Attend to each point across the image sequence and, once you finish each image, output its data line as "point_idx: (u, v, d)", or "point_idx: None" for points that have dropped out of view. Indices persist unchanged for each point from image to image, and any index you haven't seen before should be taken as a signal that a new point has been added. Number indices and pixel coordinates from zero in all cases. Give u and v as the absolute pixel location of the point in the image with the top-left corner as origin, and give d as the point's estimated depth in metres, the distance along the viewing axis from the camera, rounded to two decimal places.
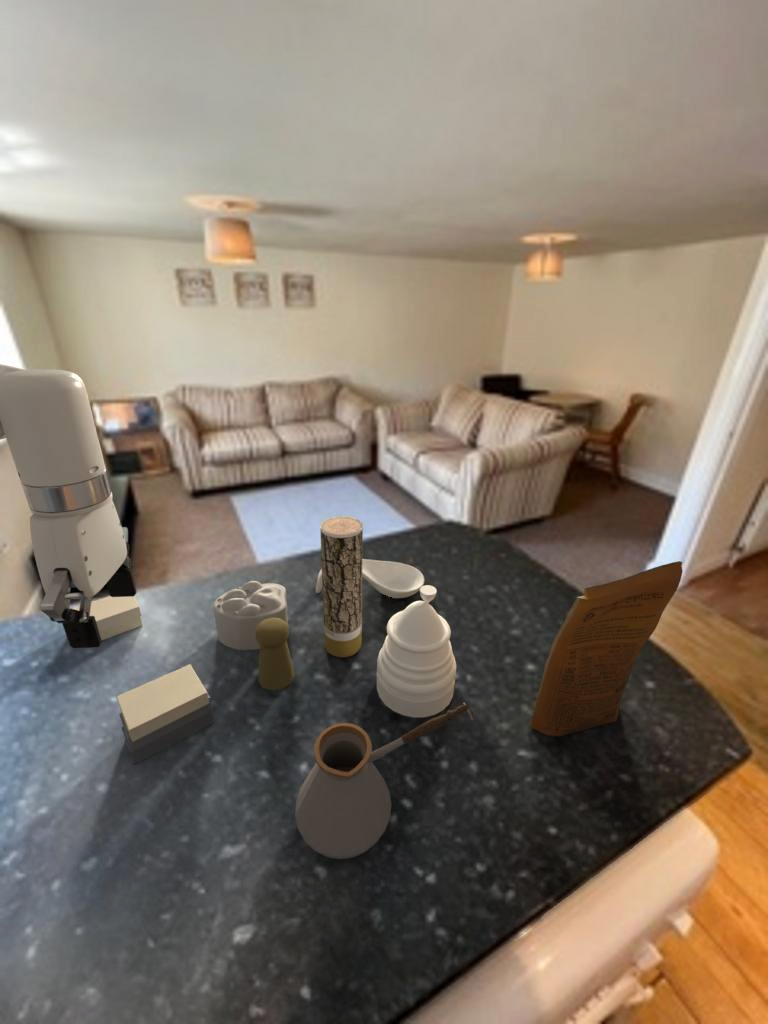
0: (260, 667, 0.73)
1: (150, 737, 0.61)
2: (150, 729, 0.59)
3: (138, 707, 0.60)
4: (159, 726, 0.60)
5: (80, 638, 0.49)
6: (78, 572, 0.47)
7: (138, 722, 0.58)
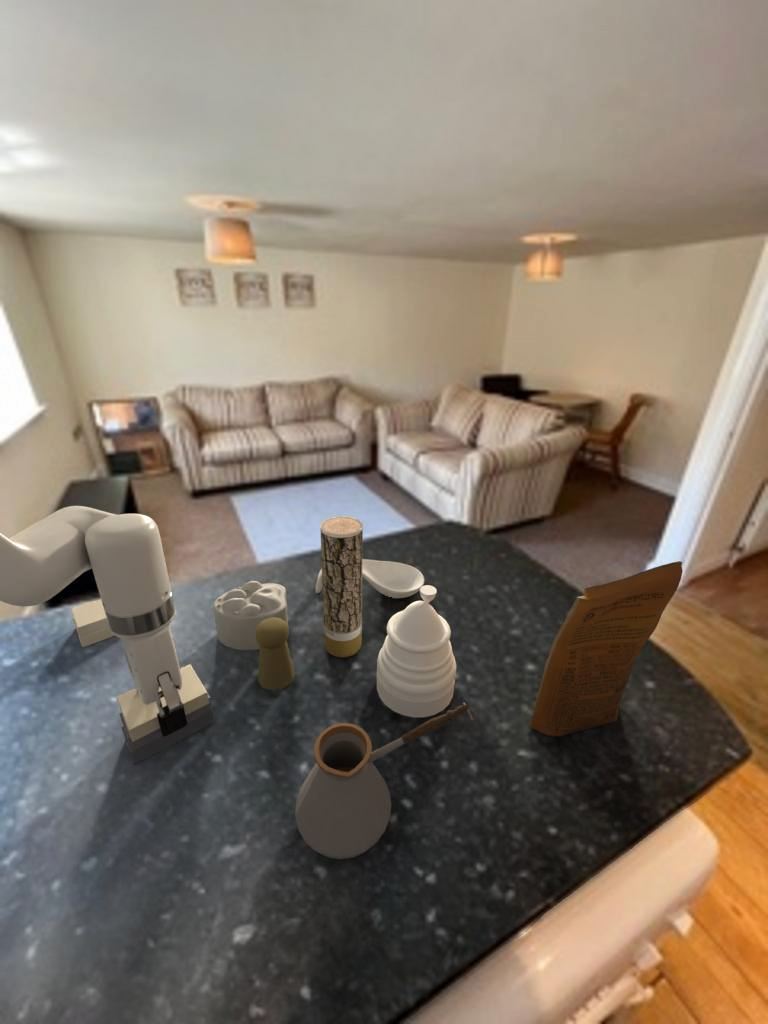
0: (260, 667, 0.73)
1: (150, 737, 0.61)
2: (150, 729, 0.59)
3: (138, 707, 0.60)
4: (159, 726, 0.60)
5: (176, 723, 0.60)
6: (176, 670, 0.57)
7: (138, 722, 0.58)
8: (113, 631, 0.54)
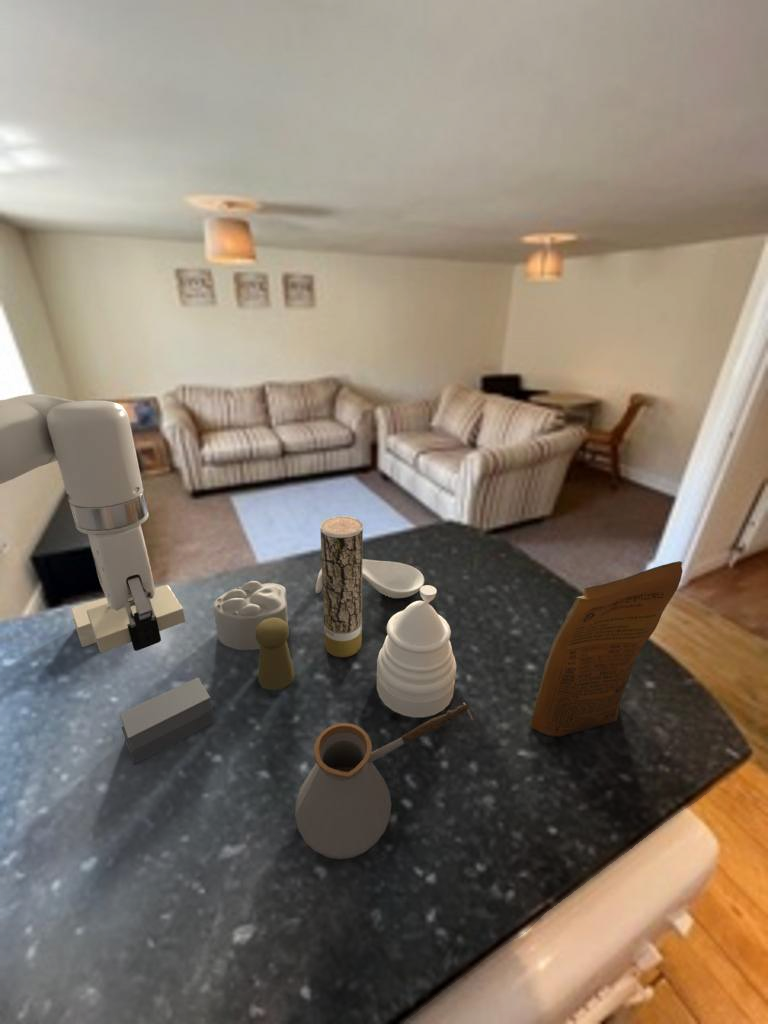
0: (260, 667, 0.73)
1: (150, 737, 0.61)
2: (120, 642, 0.55)
3: (109, 619, 0.57)
4: (130, 639, 0.56)
5: (148, 637, 0.56)
6: (147, 575, 0.53)
7: (107, 632, 0.54)
8: (79, 526, 0.50)
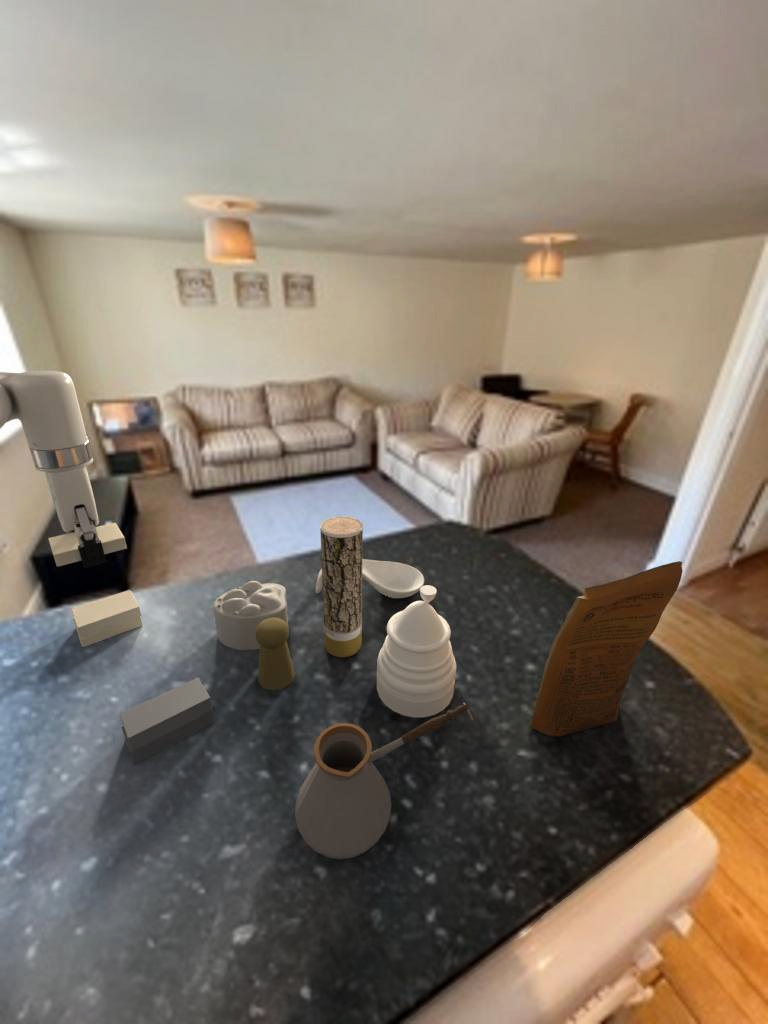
0: (260, 667, 0.73)
1: (150, 737, 0.61)
2: (73, 559, 0.72)
3: (65, 543, 0.73)
4: None
5: (95, 556, 0.72)
6: (91, 506, 0.70)
7: (62, 551, 0.71)
8: (37, 466, 0.66)
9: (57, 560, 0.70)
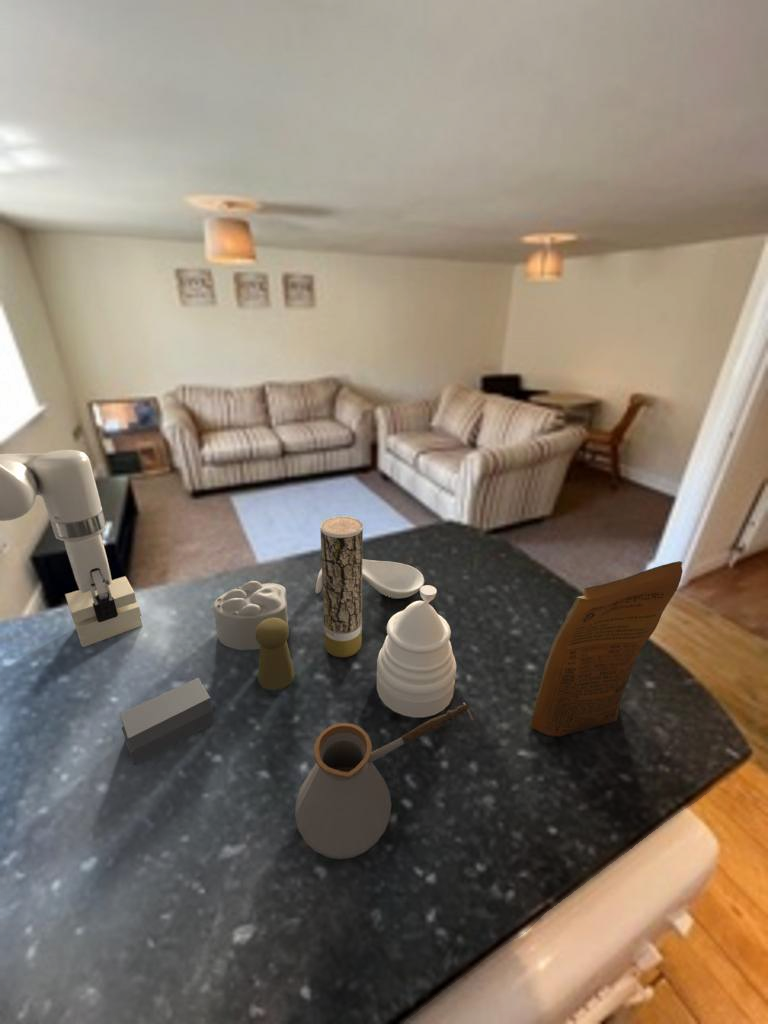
0: (260, 667, 0.73)
1: (150, 737, 0.61)
2: (88, 615, 0.79)
3: (80, 600, 0.80)
4: (95, 614, 0.80)
5: (108, 612, 0.80)
6: (105, 569, 0.77)
7: (78, 608, 0.78)
8: (56, 535, 0.74)
9: (74, 617, 0.78)
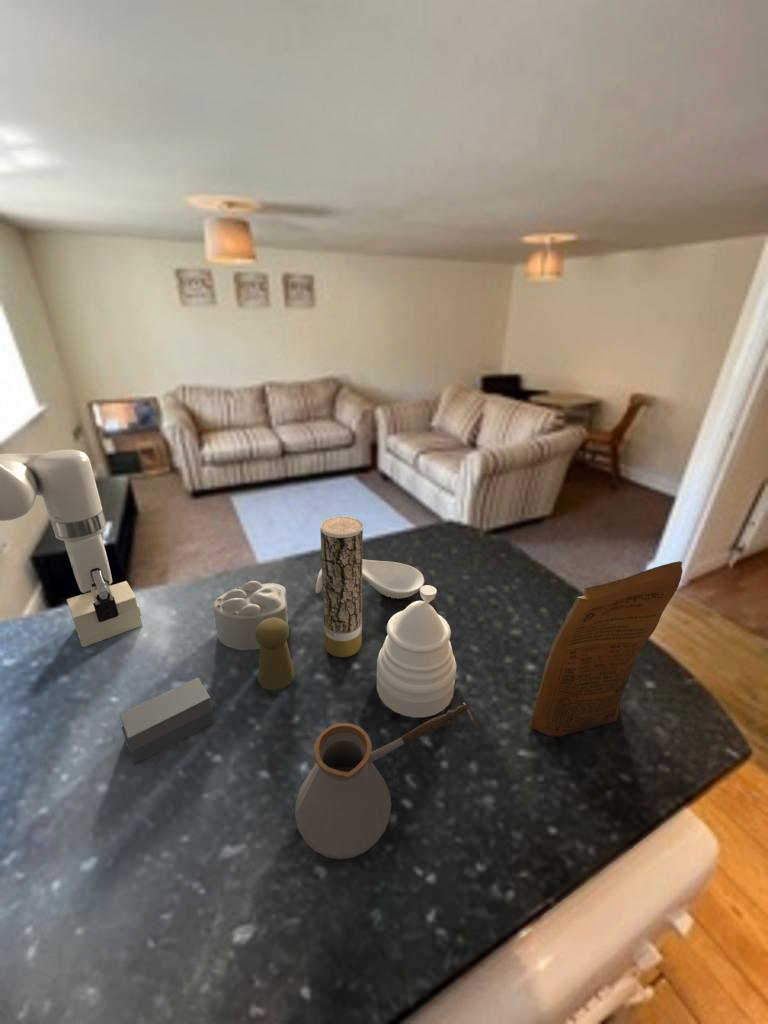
0: (260, 667, 0.73)
1: (150, 737, 0.61)
2: (90, 620, 0.79)
3: (82, 605, 0.81)
4: (97, 619, 0.80)
5: (108, 612, 0.79)
6: (105, 568, 0.77)
7: (80, 613, 0.79)
8: (57, 535, 0.74)
9: (76, 622, 0.78)
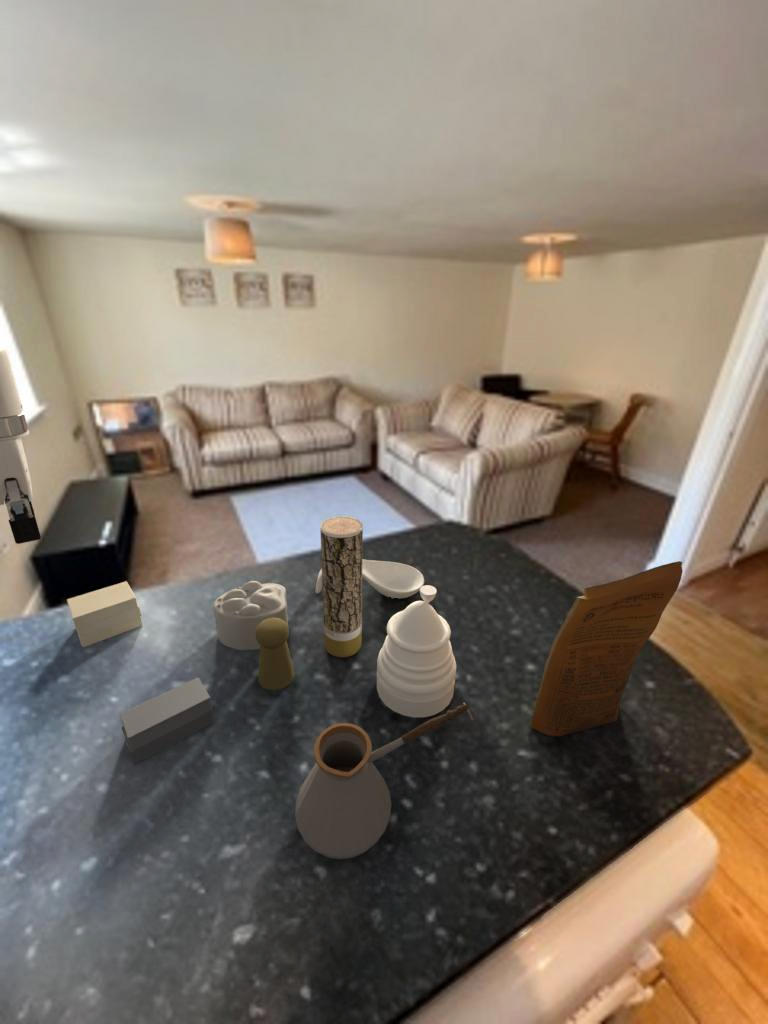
0: (260, 667, 0.73)
1: (150, 737, 0.61)
2: (90, 620, 0.79)
3: (82, 605, 0.81)
4: (97, 619, 0.80)
5: (27, 532, 0.69)
6: (23, 480, 0.67)
7: (80, 614, 0.79)
8: None
9: (76, 622, 0.78)
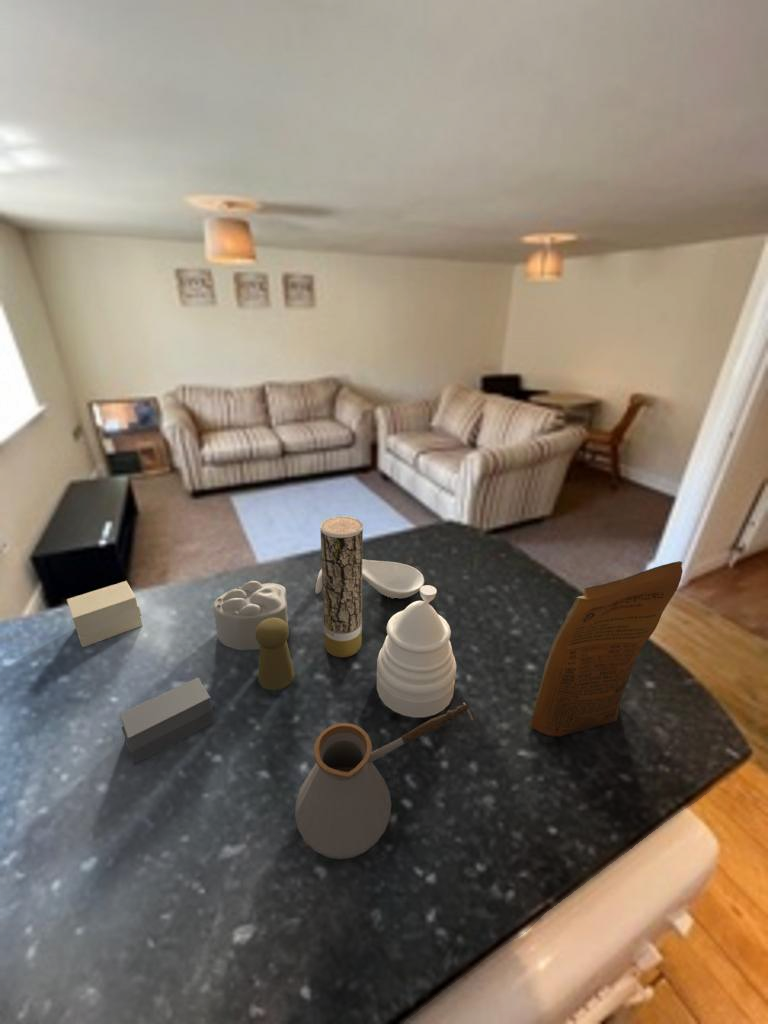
0: (260, 667, 0.73)
1: (150, 737, 0.61)
2: (90, 620, 0.79)
3: (82, 605, 0.81)
4: (97, 619, 0.80)
5: None
6: None
7: (80, 613, 0.79)
8: None
9: (76, 622, 0.78)
